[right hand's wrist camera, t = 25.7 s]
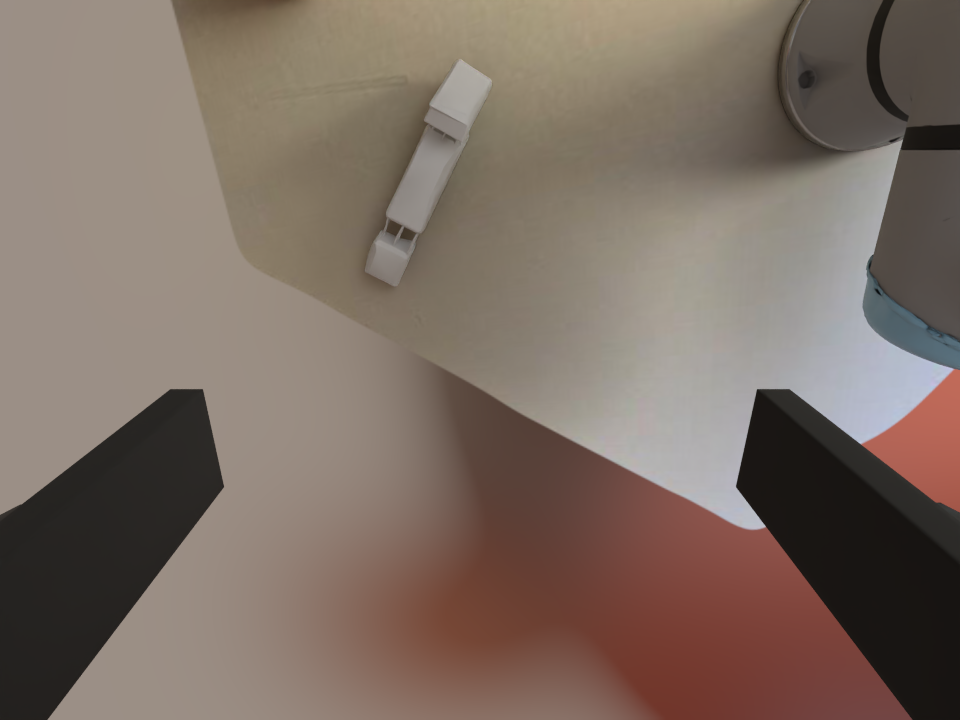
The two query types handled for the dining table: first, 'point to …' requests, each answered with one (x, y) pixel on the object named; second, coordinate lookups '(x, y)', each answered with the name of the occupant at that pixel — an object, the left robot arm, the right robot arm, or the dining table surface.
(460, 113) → the white long segmented piece
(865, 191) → the dining table surface
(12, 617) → the right robot arm
